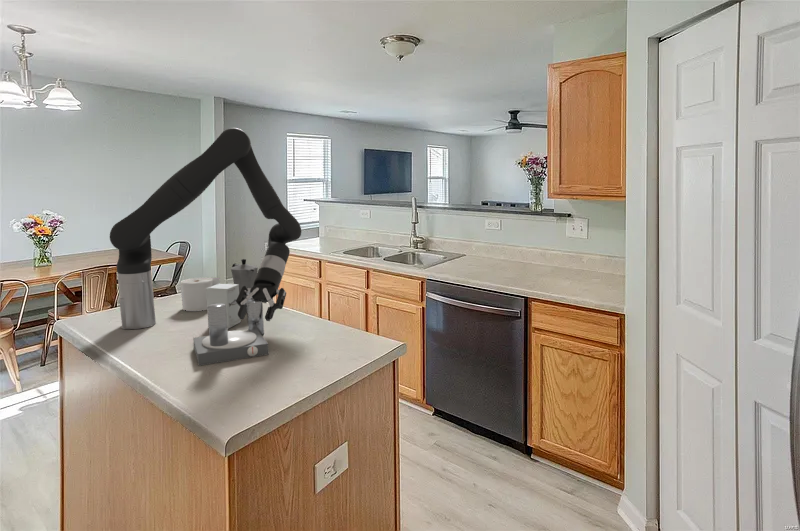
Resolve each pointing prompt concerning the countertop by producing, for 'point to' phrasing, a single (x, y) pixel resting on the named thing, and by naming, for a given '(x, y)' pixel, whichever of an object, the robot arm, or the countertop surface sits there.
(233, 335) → the scale
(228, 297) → the supplement box
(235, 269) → the coffeepot
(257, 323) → the spacer
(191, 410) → the countertop surface
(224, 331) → the cylinder
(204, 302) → the toilet tissue
